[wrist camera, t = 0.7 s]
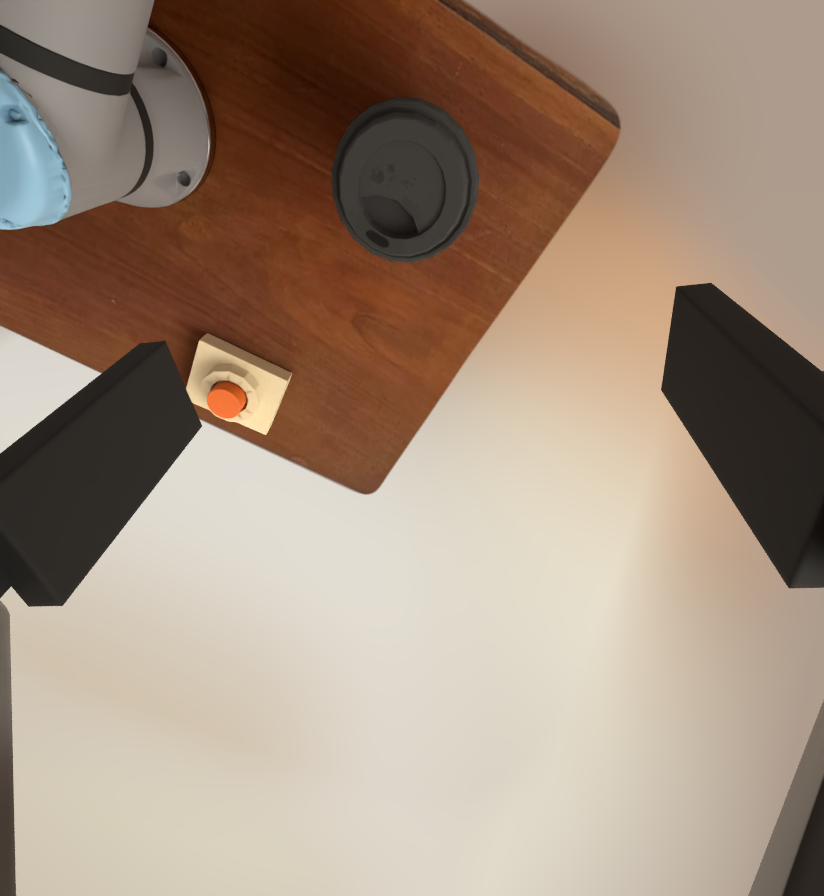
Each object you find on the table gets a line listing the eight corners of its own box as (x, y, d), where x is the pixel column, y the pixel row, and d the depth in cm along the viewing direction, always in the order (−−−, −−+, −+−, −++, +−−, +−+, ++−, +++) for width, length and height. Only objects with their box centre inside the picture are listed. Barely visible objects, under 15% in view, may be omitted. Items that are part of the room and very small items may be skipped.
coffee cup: (339, 189, 52) (300, 221, 40) (393, 66, 46) (366, 58, 33) (437, 249, 54) (429, 297, 42) (500, 140, 48) (511, 158, 36)
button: (210, 401, 63) (203, 409, 62) (218, 375, 61) (211, 383, 59) (241, 415, 64) (235, 423, 62) (250, 390, 62) (244, 398, 60)
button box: (190, 390, 67) (176, 406, 64) (206, 332, 62) (192, 346, 59) (270, 426, 69) (261, 443, 66) (292, 372, 64) (283, 388, 61)
